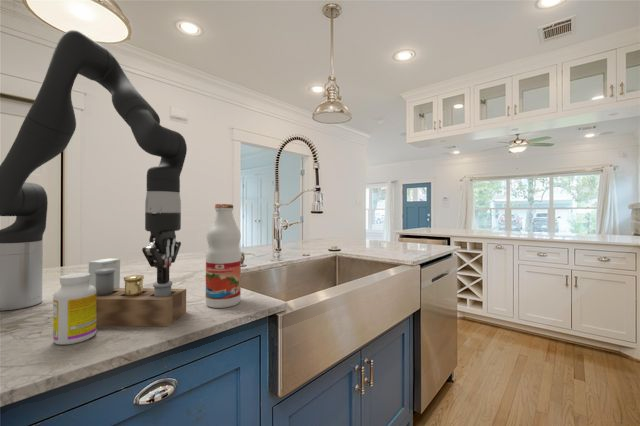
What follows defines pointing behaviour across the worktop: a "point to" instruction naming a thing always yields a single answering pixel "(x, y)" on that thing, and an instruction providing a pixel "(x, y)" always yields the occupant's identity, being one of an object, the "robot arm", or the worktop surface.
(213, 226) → the fruit juice
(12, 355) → the worktop surface
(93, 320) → the supplement bottle
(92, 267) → the skincare box
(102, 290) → the plug
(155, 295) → the plug
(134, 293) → the plug mid
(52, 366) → the worktop surface
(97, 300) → the socket block
